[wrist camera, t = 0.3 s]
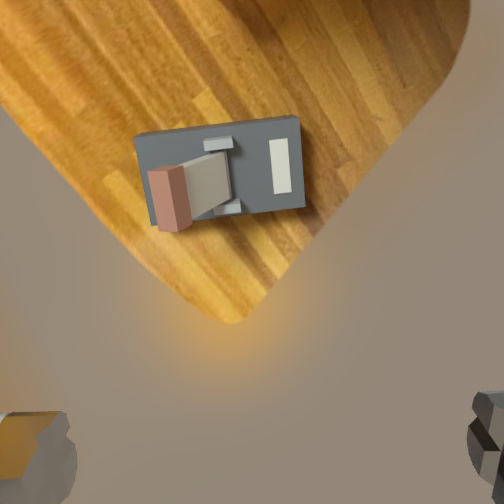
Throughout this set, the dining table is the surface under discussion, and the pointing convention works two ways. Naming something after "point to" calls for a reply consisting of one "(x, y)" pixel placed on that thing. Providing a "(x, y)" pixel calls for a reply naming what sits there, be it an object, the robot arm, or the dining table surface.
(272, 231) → the dining table surface
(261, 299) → the dining table surface
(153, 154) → the switch panel
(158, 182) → the lever
